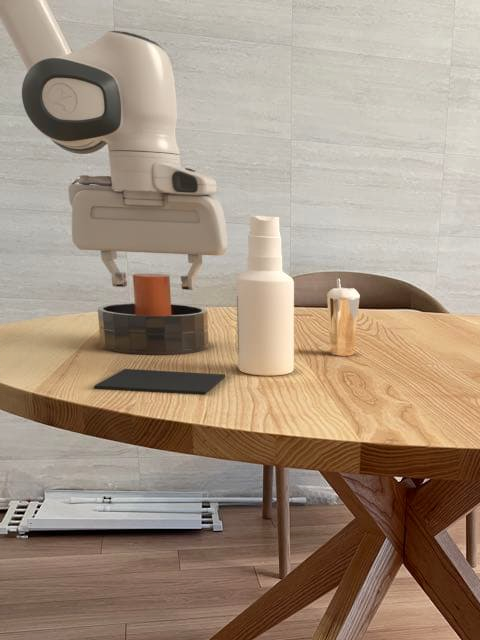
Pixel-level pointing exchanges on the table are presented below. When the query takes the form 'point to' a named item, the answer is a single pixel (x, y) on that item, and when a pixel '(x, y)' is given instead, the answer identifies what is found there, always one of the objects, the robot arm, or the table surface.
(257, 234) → the spray bottle
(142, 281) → the orange cylinder
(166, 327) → the pot
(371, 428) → the table surface
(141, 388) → the mat
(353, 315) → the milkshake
